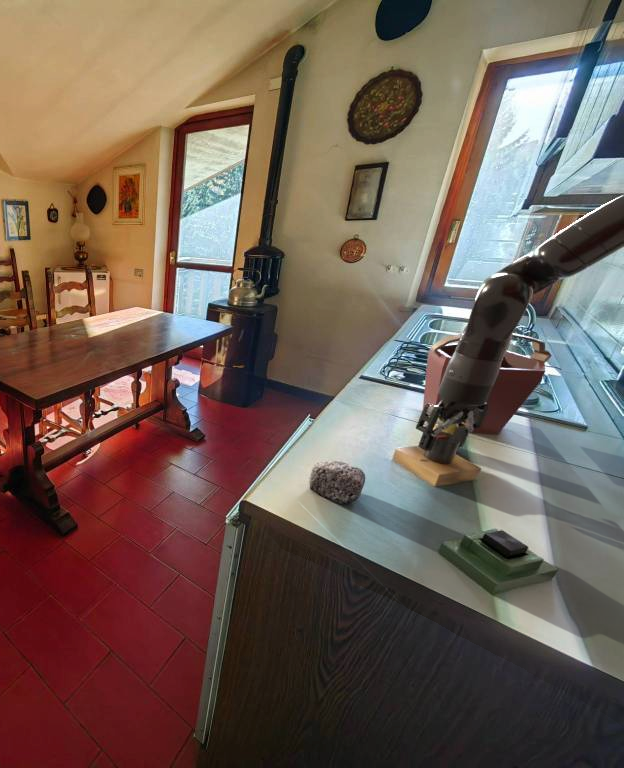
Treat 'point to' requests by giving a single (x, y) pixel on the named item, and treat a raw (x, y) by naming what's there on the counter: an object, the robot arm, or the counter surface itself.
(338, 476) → the pumice stone
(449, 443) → the dark grey short cylinder
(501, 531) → the plate
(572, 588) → the counter surface
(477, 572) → the block
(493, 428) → the bucket
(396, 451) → the flat wooden block
